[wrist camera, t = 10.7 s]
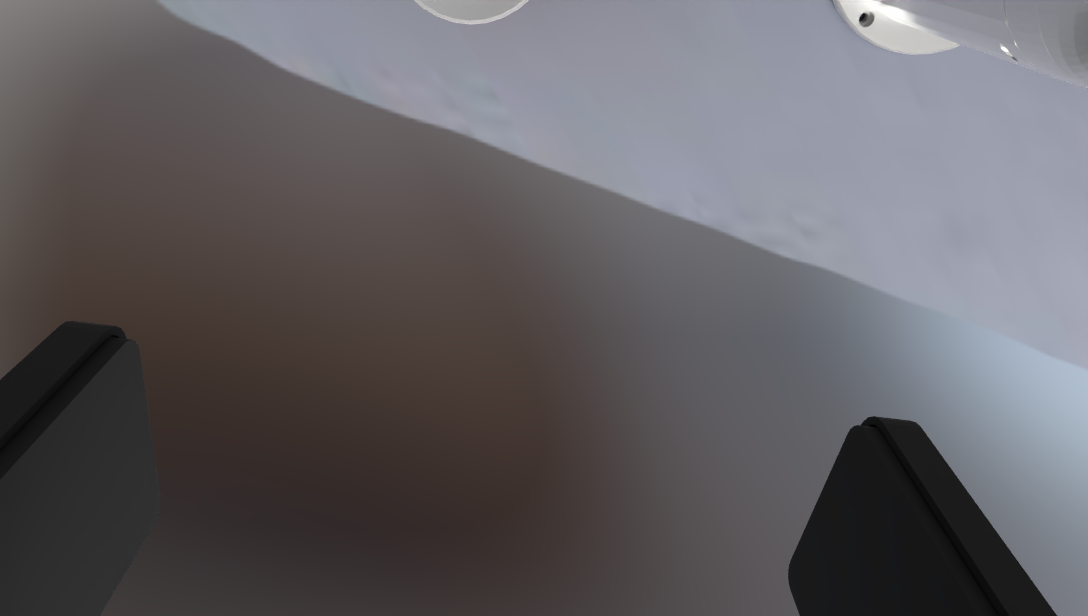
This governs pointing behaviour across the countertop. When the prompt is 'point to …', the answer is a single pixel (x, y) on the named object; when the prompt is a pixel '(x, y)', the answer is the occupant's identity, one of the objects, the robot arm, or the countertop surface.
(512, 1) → the canned food
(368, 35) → the countertop surface
